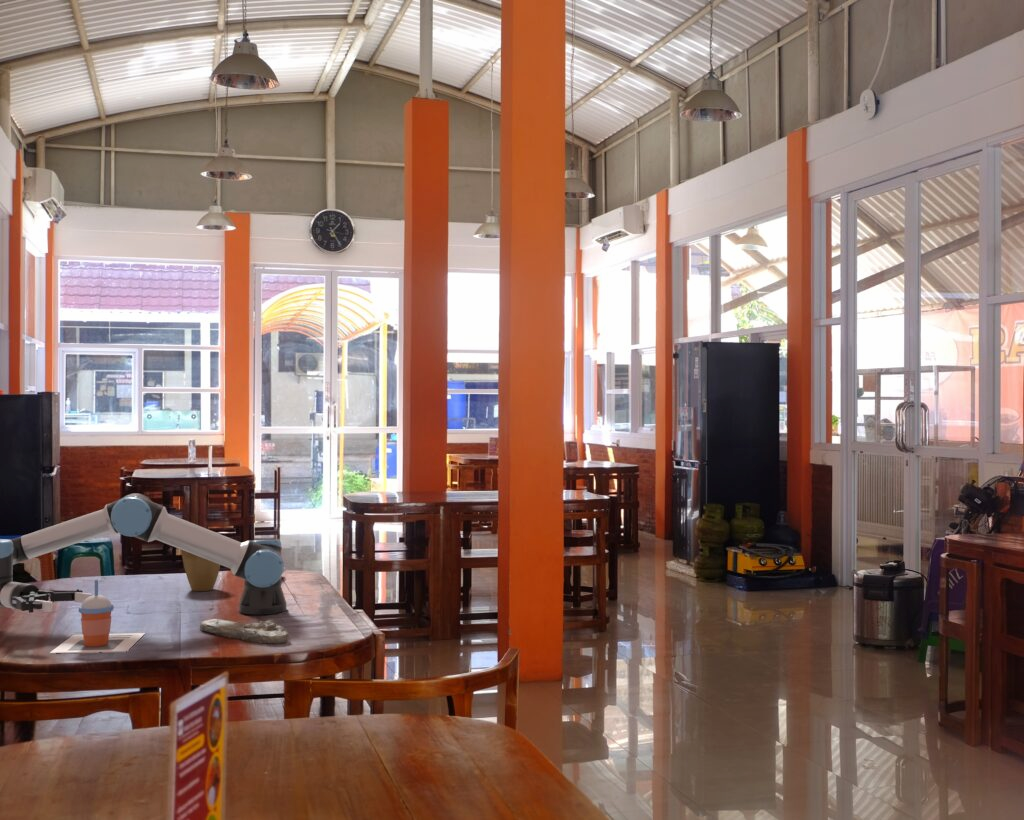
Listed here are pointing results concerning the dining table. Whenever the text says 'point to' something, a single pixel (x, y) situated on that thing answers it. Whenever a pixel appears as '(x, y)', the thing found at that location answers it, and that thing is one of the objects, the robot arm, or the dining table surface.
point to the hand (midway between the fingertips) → (72, 602)
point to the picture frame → (114, 645)
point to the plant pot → (200, 571)
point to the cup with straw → (96, 619)
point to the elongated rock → (247, 630)
